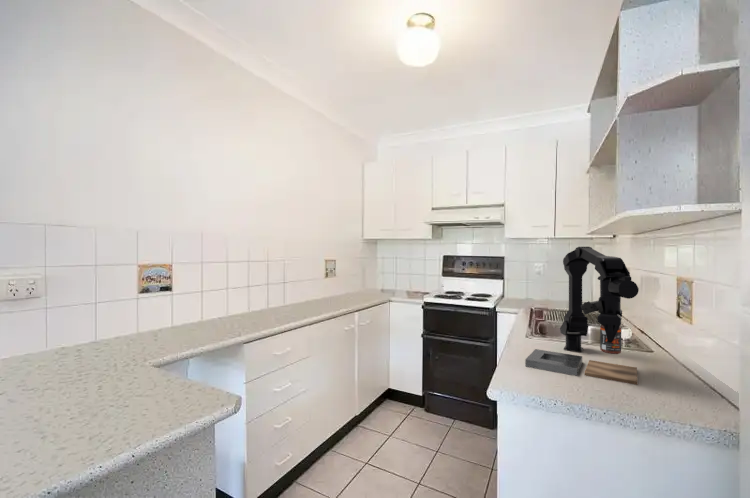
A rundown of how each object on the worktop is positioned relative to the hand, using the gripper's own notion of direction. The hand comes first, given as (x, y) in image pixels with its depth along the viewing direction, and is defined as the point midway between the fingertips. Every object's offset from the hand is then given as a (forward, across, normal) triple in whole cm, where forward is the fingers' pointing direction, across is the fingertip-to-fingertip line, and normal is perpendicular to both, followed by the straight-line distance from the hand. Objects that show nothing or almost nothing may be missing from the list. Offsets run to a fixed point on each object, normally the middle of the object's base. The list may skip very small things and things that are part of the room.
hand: (610, 340), depth 116 cm
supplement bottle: (+4, 0, 0) cm, 4 cm away
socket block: (+11, +2, -17) cm, 20 cm away
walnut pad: (+11, 0, 0) cm, 11 cm away
